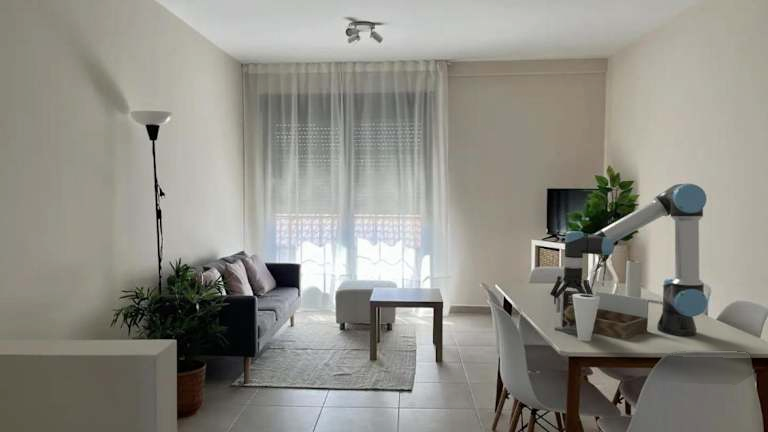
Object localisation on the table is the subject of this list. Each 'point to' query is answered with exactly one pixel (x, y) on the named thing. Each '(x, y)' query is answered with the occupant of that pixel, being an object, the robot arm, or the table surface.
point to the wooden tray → (619, 324)
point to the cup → (585, 314)
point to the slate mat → (566, 330)
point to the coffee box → (568, 311)
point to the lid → (623, 304)
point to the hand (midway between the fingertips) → (571, 315)
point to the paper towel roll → (633, 279)
